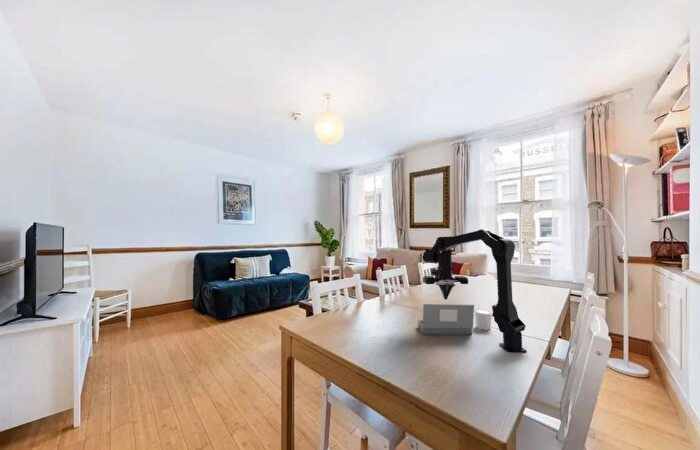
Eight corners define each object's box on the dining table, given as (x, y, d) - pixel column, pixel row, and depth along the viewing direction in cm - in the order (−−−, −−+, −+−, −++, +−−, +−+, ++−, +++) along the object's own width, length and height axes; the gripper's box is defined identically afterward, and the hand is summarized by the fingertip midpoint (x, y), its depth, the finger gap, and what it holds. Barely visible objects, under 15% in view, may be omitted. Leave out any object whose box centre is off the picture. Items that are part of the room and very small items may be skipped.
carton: (471, 334, 110) (471, 327, 110) (423, 334, 111) (423, 327, 111) (463, 327, 119) (463, 320, 119) (418, 327, 120) (418, 320, 120)
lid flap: (472, 327, 110) (472, 328, 110) (422, 327, 111) (423, 328, 110) (473, 304, 109) (474, 305, 108) (423, 304, 109) (423, 304, 109)
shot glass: (495, 330, 115) (494, 313, 116) (479, 330, 116) (478, 313, 116) (487, 324, 122) (487, 309, 123) (472, 324, 122) (472, 309, 123)
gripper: (458, 262, 129) (458, 295, 128) (419, 262, 129) (419, 295, 128) (468, 265, 117) (469, 301, 117) (426, 265, 117) (426, 301, 117)
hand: (445, 299), depth 120 cm, fingers closed
